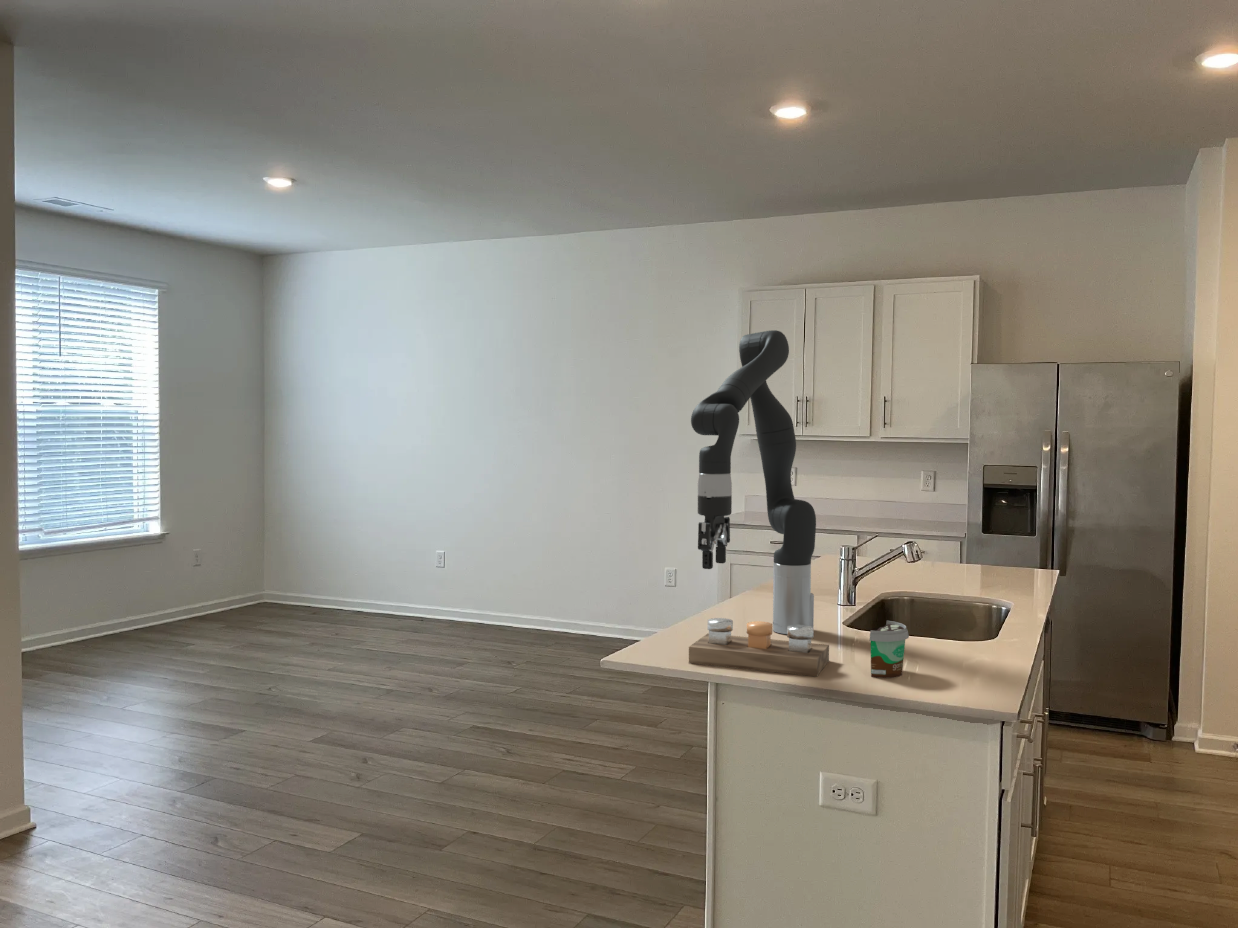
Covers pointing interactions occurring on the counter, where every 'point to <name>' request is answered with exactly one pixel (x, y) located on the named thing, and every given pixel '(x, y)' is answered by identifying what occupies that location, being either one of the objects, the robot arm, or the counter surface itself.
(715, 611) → the counter surface
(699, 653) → the knob mount
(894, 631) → the food container
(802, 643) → the knob
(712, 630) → the knob
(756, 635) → the knob mid
